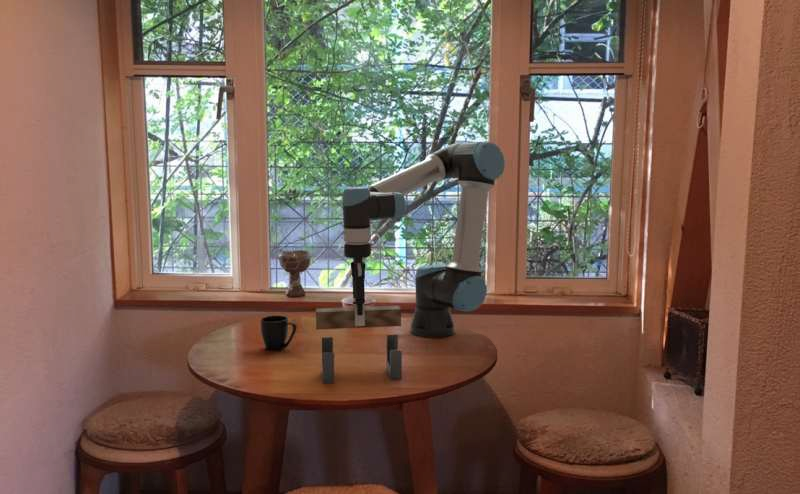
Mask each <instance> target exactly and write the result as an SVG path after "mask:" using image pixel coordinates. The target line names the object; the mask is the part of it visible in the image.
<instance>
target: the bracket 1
mask: <svg viewBox="0 0 800 494" xmlns="http://www.w3.org/2000/svg"><path fill="white" fill-rule="evenodd" d="M321 376H322V377H321V378H322V384H334V383H335V352H334V338H333V337H321Z"/></svg>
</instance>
